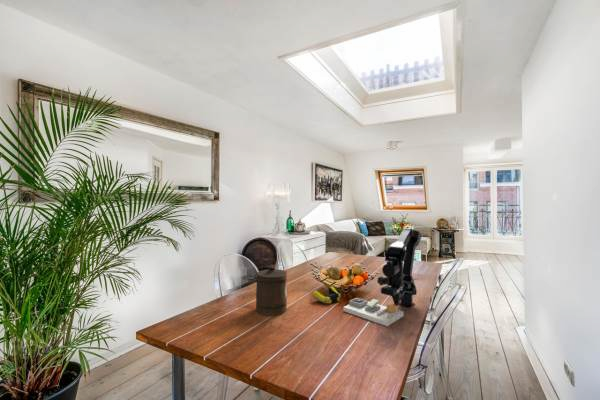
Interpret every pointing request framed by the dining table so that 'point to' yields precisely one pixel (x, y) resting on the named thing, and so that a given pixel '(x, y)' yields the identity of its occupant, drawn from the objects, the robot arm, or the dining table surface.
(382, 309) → the panel
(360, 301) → the push button
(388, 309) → the orange rectangular block
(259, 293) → the wooden container
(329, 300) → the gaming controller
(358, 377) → the dining table surface
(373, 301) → the rocker
